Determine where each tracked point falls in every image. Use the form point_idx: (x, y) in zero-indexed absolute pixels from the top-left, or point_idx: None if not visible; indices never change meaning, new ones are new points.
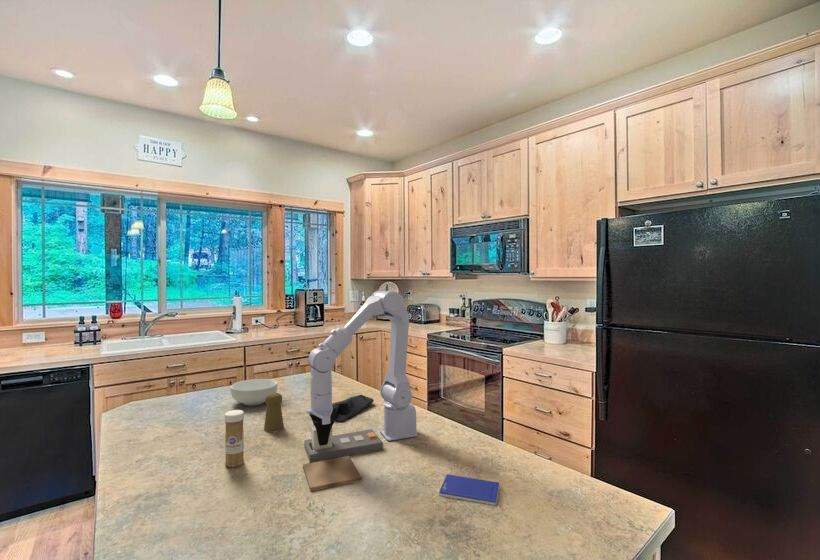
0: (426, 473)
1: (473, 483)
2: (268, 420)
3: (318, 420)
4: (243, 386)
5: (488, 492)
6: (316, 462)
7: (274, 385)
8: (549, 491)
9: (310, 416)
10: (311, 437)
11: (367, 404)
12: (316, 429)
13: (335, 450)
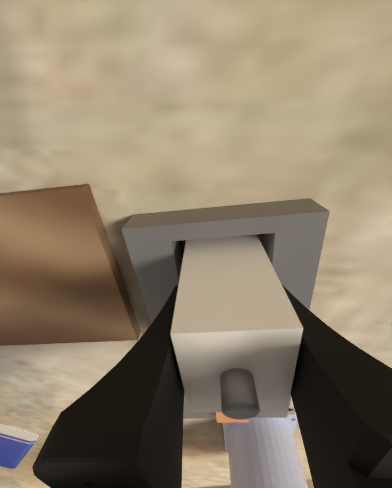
0: (53, 421)
1: (2, 454)
2: None
3: (104, 485)
4: None
5: None
6: (96, 244)
7: None
8: (12, 479)
9: (366, 426)
10: (268, 263)
11: None
12: (110, 371)
13: (150, 322)
